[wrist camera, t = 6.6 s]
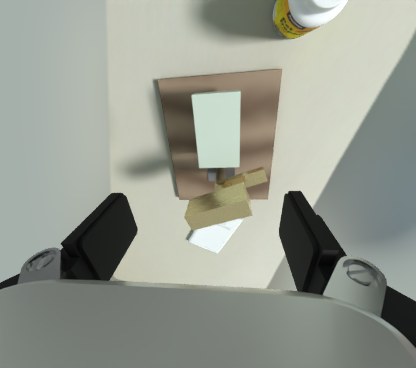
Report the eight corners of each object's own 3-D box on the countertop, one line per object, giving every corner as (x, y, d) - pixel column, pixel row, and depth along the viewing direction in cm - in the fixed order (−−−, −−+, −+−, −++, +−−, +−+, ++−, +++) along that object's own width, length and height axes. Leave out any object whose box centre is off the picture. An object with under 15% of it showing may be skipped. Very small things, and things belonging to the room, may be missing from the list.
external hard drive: (189, 237, 46) (209, 201, 40) (218, 248, 47) (242, 215, 41) (187, 242, 45) (208, 206, 39) (218, 253, 46) (243, 220, 40)
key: (257, 150, 31) (273, 192, 20) (260, 162, 32) (278, 208, 21) (198, 171, 34) (184, 217, 23) (203, 181, 35) (192, 230, 24)
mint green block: (195, 93, 25) (191, 94, 23) (239, 89, 25) (240, 91, 22) (201, 160, 30) (199, 168, 28) (238, 159, 30) (239, 167, 27)
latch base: (159, 79, 28) (150, 79, 25) (280, 69, 26) (288, 68, 23) (180, 197, 39) (175, 208, 36) (266, 196, 37) (270, 208, 34)
